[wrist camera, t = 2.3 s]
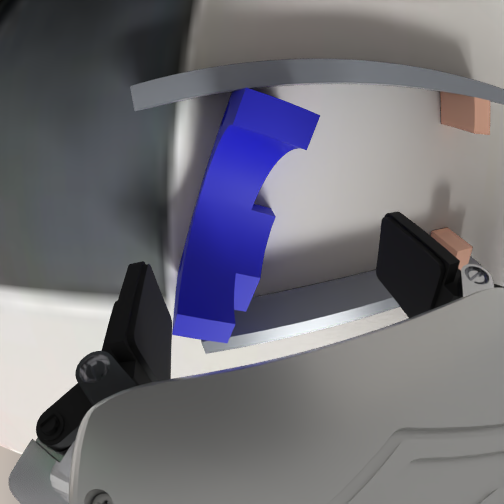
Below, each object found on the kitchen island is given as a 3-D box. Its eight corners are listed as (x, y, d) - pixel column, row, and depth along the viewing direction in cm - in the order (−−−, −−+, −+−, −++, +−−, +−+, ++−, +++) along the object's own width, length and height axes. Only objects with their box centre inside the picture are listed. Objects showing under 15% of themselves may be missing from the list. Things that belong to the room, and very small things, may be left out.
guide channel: (474, 84, 15) (506, 90, 12) (456, 257, 23) (478, 277, 20) (145, 88, 13) (130, 86, 10) (204, 318, 22) (205, 353, 19)
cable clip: (240, 283, 21) (253, 346, 16) (178, 271, 19) (172, 334, 14) (304, 117, 16) (351, 130, 10) (232, 92, 14) (246, 87, 9)
